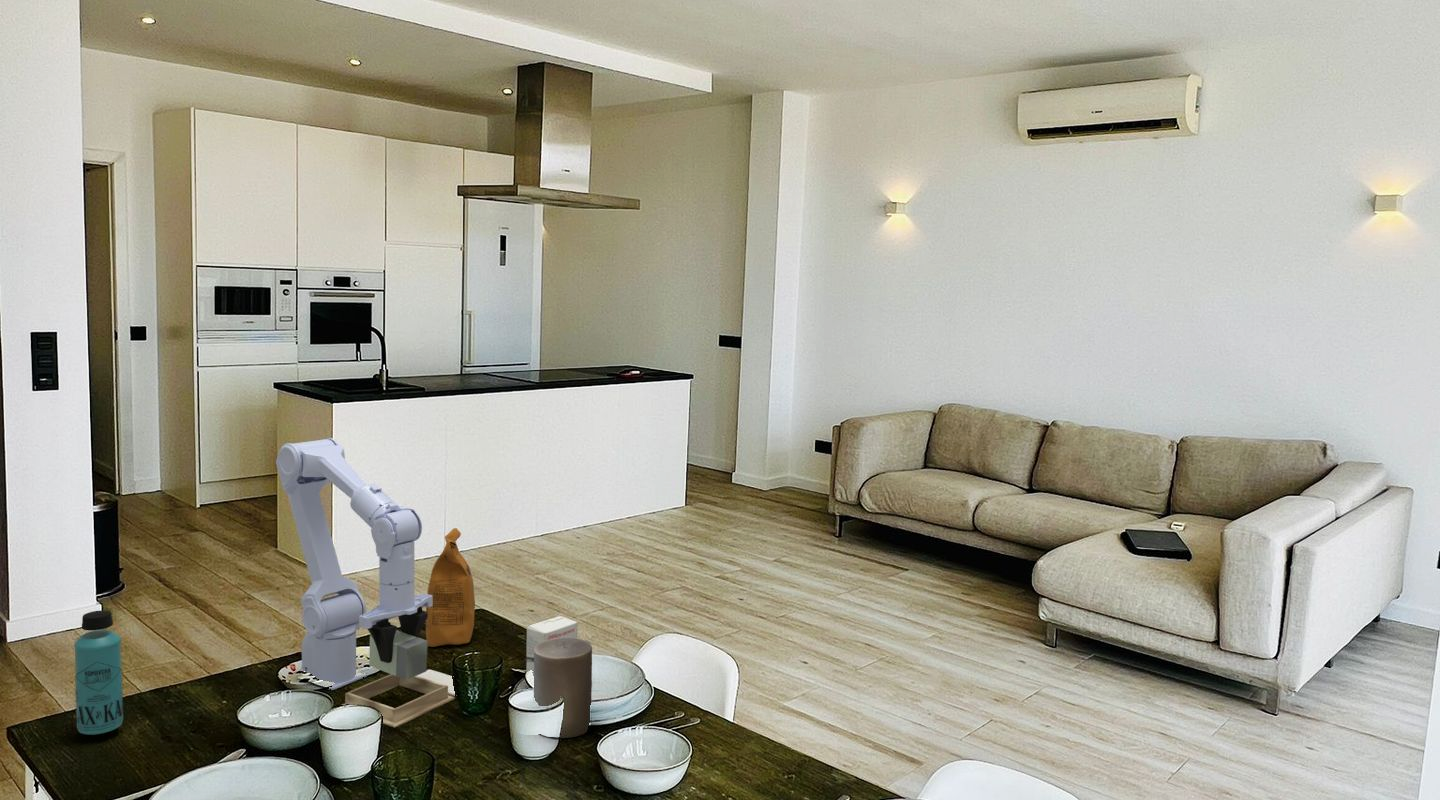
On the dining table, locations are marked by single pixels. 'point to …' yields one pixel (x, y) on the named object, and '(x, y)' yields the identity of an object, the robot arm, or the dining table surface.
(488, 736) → the dining table surface
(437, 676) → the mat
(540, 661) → the pillar candle
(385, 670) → the box
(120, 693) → the beverage bottle
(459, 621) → the coffee package
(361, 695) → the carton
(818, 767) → the dining table surface
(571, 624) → the ink box
